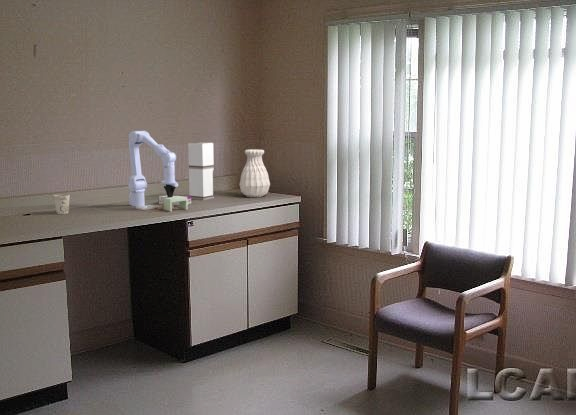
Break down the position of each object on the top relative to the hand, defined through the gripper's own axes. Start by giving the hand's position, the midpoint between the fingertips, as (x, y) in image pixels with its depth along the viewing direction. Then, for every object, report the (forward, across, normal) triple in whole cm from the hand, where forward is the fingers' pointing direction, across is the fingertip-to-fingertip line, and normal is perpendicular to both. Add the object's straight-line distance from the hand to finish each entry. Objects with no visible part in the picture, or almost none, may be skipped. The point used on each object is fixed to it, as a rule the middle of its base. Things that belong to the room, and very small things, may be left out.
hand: (170, 198), depth 368 cm
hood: (+6, -6, 0) cm, 8 cm away
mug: (+7, +33, +49) cm, 59 cm away
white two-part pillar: (+7, +28, -40) cm, 49 cm away
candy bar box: (+4, +9, -18) cm, 20 cm away
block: (+6, +3, 0) cm, 7 cm away
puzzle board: (+7, +4, +4) cm, 9 cm away
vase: (+7, +13, -71) cm, 72 cm away
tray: (+6, +10, +10) cm, 15 cm away
